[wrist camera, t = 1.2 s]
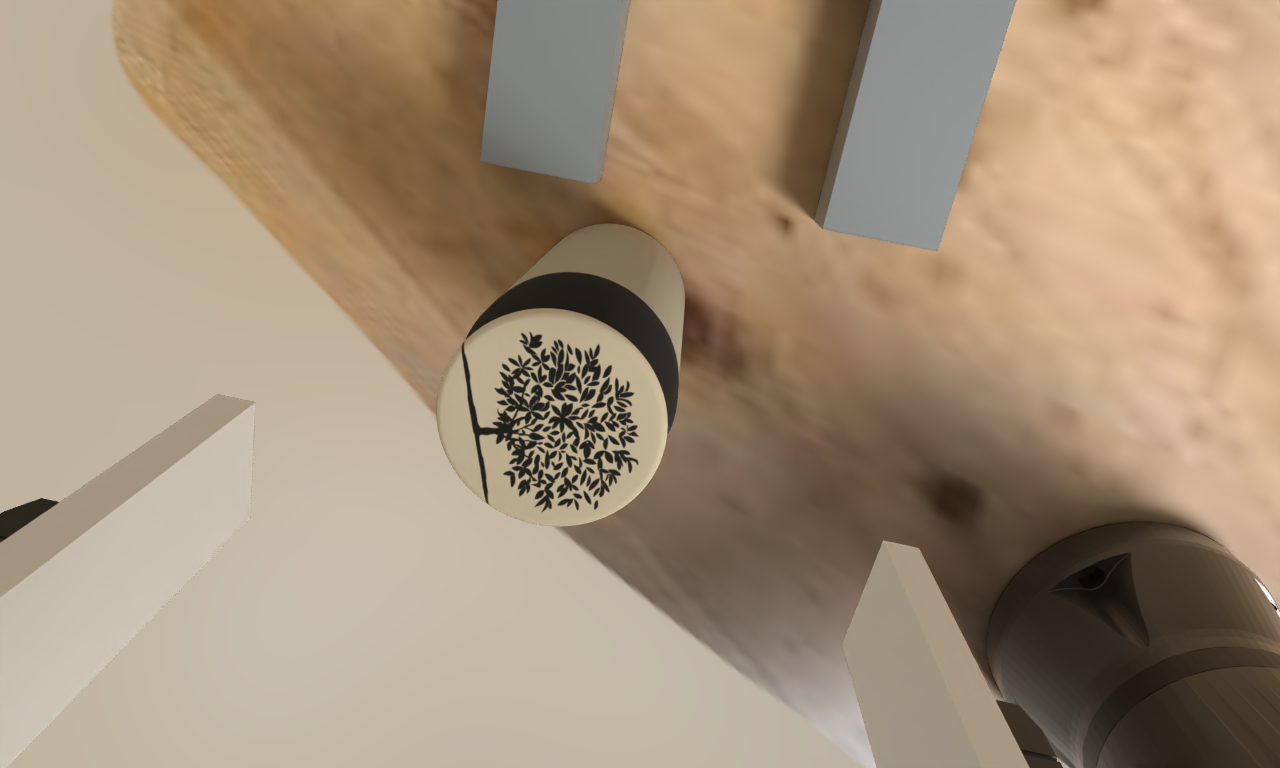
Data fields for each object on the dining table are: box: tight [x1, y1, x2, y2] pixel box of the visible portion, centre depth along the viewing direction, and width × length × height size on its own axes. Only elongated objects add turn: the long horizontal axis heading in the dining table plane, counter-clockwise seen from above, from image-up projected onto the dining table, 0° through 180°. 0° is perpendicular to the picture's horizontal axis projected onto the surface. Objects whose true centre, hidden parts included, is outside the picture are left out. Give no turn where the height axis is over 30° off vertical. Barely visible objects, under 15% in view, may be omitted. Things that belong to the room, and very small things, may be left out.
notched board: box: [480, 0, 1016, 251], centre depth 35 cm, size 18×22×3 cm
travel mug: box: [436, 223, 685, 526], centre depth 33 cm, size 8×8×18 cm
